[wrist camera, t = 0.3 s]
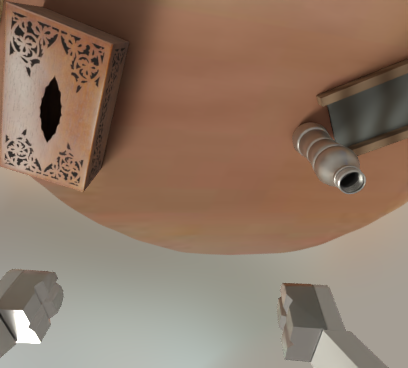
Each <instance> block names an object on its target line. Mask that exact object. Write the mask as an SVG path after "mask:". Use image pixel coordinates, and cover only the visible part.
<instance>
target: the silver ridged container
mask: <svg viewBox="0 0 408 368" xmlns="http://www.w3.org/2000/svg"><path fill="white" fill-rule="evenodd" d="M292 142H293V145H294V148H295V150H296V151H297V152H298V153H300V154H301V155H302V156H304V157H306V158H307V159H308V160H309V162H310V163H311V165H312V167H313V169H314V171H315V174H316V175H317V177H318V178H319V180H320V181H322V182H323V183H325V184H327V185H330V186H336V187H338V188H339V189H340V190H341V191H342V192H344V193H346V194H354V193H357V192H359V191H360V190H361V189H362V188H363V187H364V186H365V183H366V178H365V175H364V174H363V173H362V172H361V170H360V162H359V160H358V157H357V155H356V154H355V152H353V151H352V150H351V149H349V148H347V147H345V146H343V145H341V144H339V143H337V142H336V141H334V140H333V139H332V138H331V137H330V136H329V133H328V132H327V130H326V129H325V128H324V127H323V126H322V125H320V124H317V123H314V122H307V123H304V124H302V125H300V126H299V127H298V128H297V129H296V130H295V131H294V133H293V137H292Z"/></svg>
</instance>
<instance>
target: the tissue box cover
mask: <svg viewBox="0 0 408 368" xmlns="http://www.w3.org/2000/svg"><path fill="white" fill-rule="evenodd" d="M128 46H129V42H128V41H126V40H123V39H121V38H118V37H116V36H113V35H111V34H108V33H106V32H104V31H101V30H99V29H96V28H94V27H91V26H89V25H86V24H84V23H81V22H79V21H76V20H74V19H71V18H69V17H66V16H64V15H61V14H59V13H56V12H54V11H51V10H49V9H46V8H44V7H39V6H32V5H26V4H19V3H13V2H6V14H5V41H4V68H3V94H2V121H1V148H0V166H1V167H4V168H7V169H10V170H14V171H17V172H20V173H23V174H27V175H30V176H33V177H36V178H40V179H43V180H46V181H49V182H53V183H56V184H59V185H62V186H66V187H69V188H72V189H76V190H79V191H82V192H84V190H85V189H86V188H87V187H88V185H89V184H90V183H91V181H92V180H93V179H94V177H95V176H96V175H97V173H98V172H99V171H100V170H101V166H102V162H103V157H104V153H105V148H106V144H107V140H108V135H109V131H110V126H111V122H112V117H113V113H114V108H115V104H116V99H117V95H118V90H119V86H120V82H121V77H122V73H123V68H124V64H125V59H126V55H127V50H128Z"/></svg>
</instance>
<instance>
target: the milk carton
mask: <svg viewBox="0 0 408 368" xmlns="http://www.w3.org/2000/svg"><path fill="white" fill-rule="evenodd" d="M3 1H4V0H0V21H1V15H2V9H3Z"/></svg>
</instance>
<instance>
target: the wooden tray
mask: <svg viewBox="0 0 408 368" xmlns="http://www.w3.org/2000/svg"><path fill="white" fill-rule="evenodd" d="M317 101H318V104H319V105H321V106H322V107H323V106H326V105H327V107H328V111H329V116H330V120H331V125H332V130H333V134H334V139H335V141H336V142H337V143H339V144H341V145H343V146H345V147H347V148H349V149H351V150H352V151H353V152H355V154H356V155H357V156H359V155H361V154H364V153H367V152H370V151H373V150H376V149H378V148H381V147H384V146H387V145H390V144H392V143H395V142H398V141H401V140H404V139H407V138H408V59H406V60H404V61H401V62H399V63H396V64H394V65H391V66H389V67H386V68H384V69H381V70H379V71H376V72H374V73H371V74H369V75H366V76H364V77H361V78H359V79H357V80H354V81H352V82H349V83H347V84H344V85H342V86H339V87H337V88H334V89H332V90H329V91H327V92H324V93H322V94H319V95H317Z"/></svg>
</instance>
